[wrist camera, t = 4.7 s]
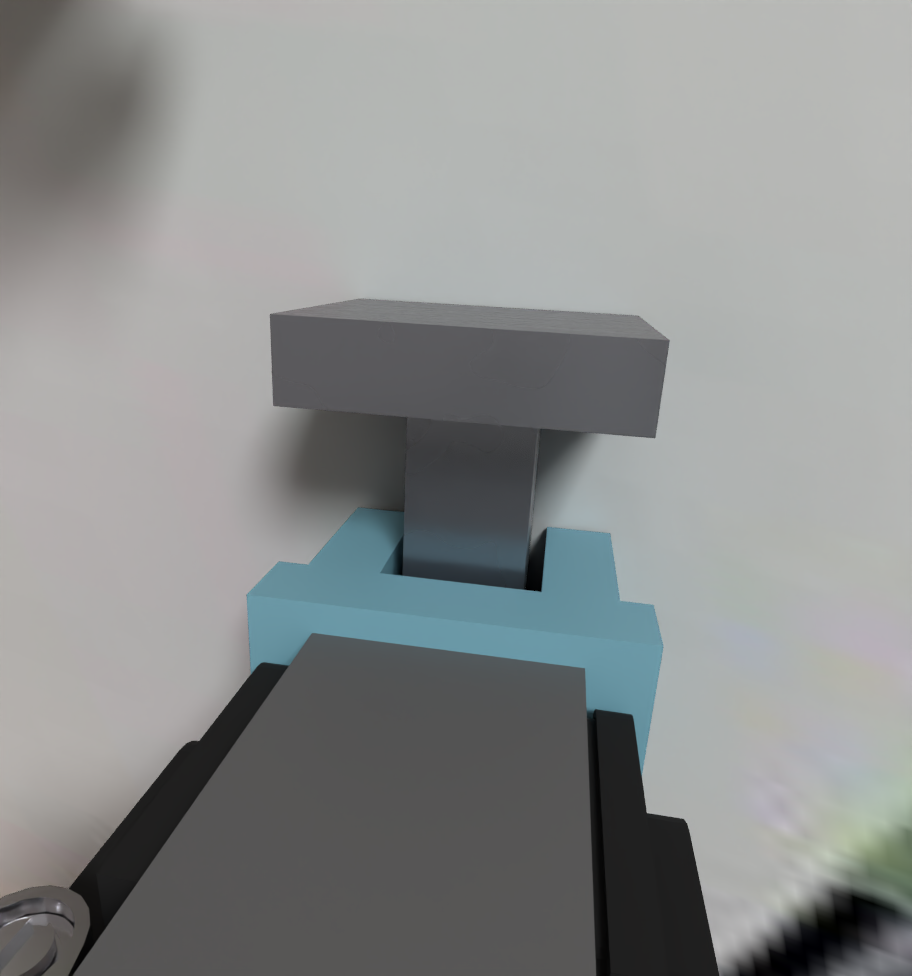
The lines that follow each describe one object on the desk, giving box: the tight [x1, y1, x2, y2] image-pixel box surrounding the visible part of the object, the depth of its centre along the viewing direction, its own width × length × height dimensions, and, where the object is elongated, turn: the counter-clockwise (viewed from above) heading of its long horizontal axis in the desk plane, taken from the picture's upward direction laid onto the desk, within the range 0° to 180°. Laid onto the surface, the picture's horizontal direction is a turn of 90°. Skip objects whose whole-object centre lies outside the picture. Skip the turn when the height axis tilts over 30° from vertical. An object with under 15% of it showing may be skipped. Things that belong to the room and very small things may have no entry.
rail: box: [270, 299, 670, 590], centre depth 13 cm, size 5×16×4 cm, turn 177°
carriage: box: [73, 507, 663, 976], centre depth 10 cm, size 6×5×10 cm
